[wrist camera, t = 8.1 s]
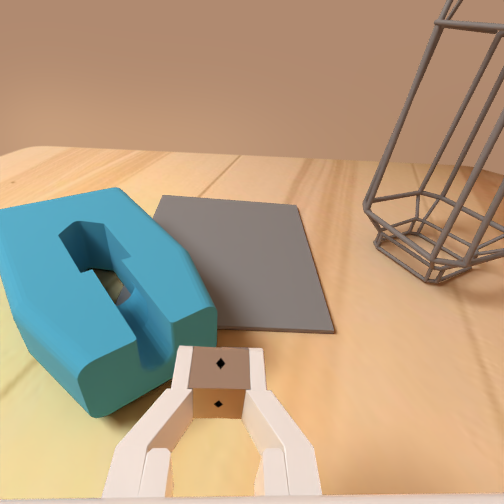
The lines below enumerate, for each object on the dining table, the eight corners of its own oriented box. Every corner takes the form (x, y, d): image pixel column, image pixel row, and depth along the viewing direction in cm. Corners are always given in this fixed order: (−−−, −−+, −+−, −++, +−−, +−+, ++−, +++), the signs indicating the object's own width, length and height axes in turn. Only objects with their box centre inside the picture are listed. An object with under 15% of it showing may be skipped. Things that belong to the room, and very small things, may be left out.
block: (235, 341, 24) (129, 227, 37) (239, 291, 22) (122, 185, 34) (59, 443, 18) (1, 261, 30) (32, 389, 15) (-20, 213, 27)
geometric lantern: (524, 284, 35) (966, -280, 15) (428, 324, 29) (979, -573, 9) (411, 215, 46) (578, -164, 26) (323, 233, 40) (455, -254, 20)
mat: (109, 323, 25) (108, 320, 25) (163, 197, 43) (162, 194, 43) (333, 333, 27) (334, 330, 27) (295, 207, 45) (296, 205, 44)
